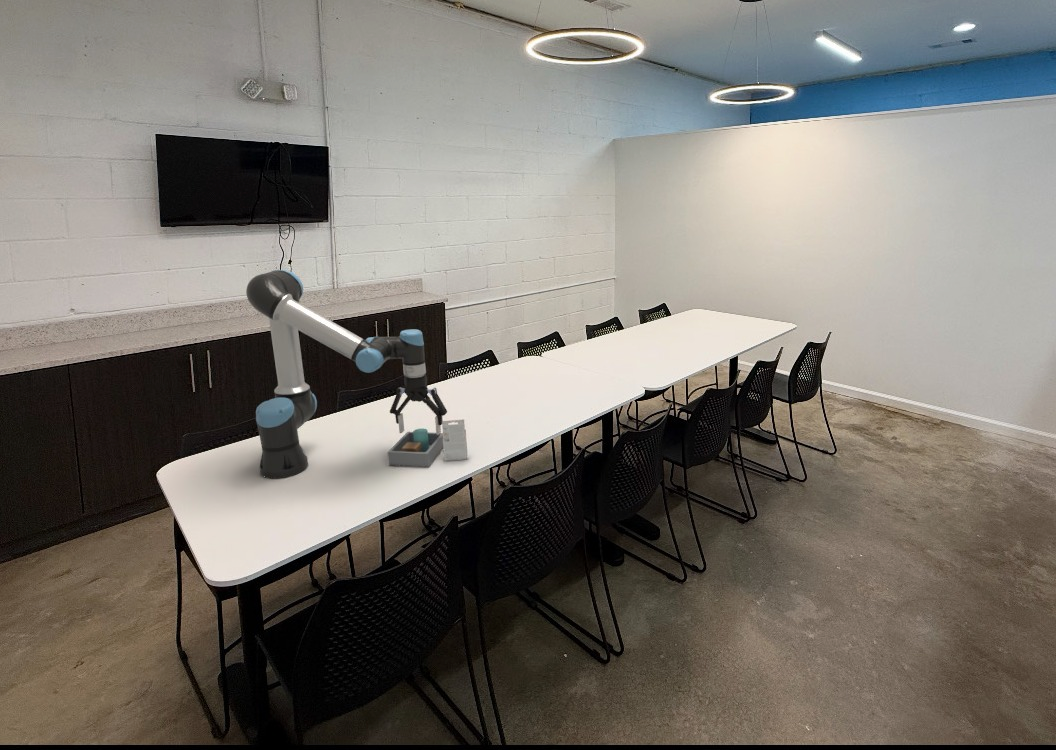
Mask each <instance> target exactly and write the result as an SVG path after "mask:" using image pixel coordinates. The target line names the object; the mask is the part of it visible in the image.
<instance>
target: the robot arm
mask: <svg viewBox="0 0 1056 750" xmlns="http://www.w3.org/2000/svg"><path fill="white" fill-rule="evenodd" d="M303 286H304V285H303V283H302V281H301V279H300V278H299V276H297V275H296V274H295V273H294V272H292V271H290V270H287V269H277V270H276V269H275V270H271V271H270V272H265V273H260V274H258V275H255V276H254V277H252V278H251V279H250V280H249V282H248V284H247V287H246V290H245V291H246V293H245V294H246V297H247V300H248V302H249V304H250V306H251V307H253V309H255V310H256V311H257V312H259V313H260V314H261V315H264V316H266V317H267V318H268V320H269V322H268V323H269V328H270V334H271V342H272V343H271V344H272V348H273V357H274V362H275V371H276V377H277V378H276V379H277V386H276V387H275V388H274V390H273V391H274V392H273V393H274V398H271V399H269V400H265V401H263V402H261V403H260V404H259V405H258V406H257V407H256V410H255V422H256V425H257V429H258V435H259V439H260V445H261V456H260V463H259V472H260V473H261V474H260V476H262V477H263V476H265V477H264V478H266V477H268V478H267V479H281V478H282V479H284V478H288V477H293V476H295V475H297V474H300V473H302V472H303V471H305V470H306V469H307V468H308V467H309V461H308V456H307V455H306V453H305V451H304V449H303V448H302V446H301V444H300V438H299V432H298V429H299V428H302V427H301V426H303V425H305V423H306V422H308V421H310V419H312V417H313V416H314V414H315V413H316V411H317V407H318V400H317V397H316V395H315V394H314V393H312V391H311V386H310V385H309V384H308V383H306V382H305V376H304V373H305V372H304V367H303V359H302V351H301V344H300V335H299V332H301V333H302V334H304V335H306V336H308V337H310V338H312V339H314V340H315V341H318V342H319V343H320V344H323V345H325V346H326V347H328V348H330V349H332V350H334V351H335V352H337V353H339V354H341V355H343V356H344V357H346V358H348V359H350V360H351V361H353V362H355V365H356V367H357V368H358V369H359V370H360V371H361V372H363V373H368V374H369V373H373V372H375V371H377V370H379V369H380V368H381V367H382V366H383V365H384V363H386V362H387V361H388V360H397V359H398V360H400V359H401V360H402V367H403V368H402V370H403V375H404V377H403V379H404V380H403V382H404V387H402V386H400V387H398V388H397V389H396V391H395V392H396V395H395V397H394V399H393V402H392V404H391V406H390V410H389V414H393V415H395V416H394V417H395V423H396V424H398V433H399V434H402V433H403V432H404V431H405V422H404V414H403V412H402V411H403V410H404V408H405V407H406V406H407V405H408V403H409V402H410V401H411V402H419V403H420V402H423V403H424V404H425V405H426V406H427V407H428V408H429V409H430V410H431V411H432V412H433V413H434V414H435V415H436V416H435V417H434V423H435V433H436V435H439V434H440V433H442V429H441V426H442V421H444V420H443V416H445V415H446V414H447V413H448V410H447V408H446V406H445V404H444V402H443V401H442V400H441V398H440V395H439V394H438V389H437V387H433V388H428V382H427V381H428V380H427V374H426V373H427V368H426V358H425V355H426V354H425V342H424V336H423V332H422V331H421V330H419V329H414V328H413V329H411V328H410V329H404V330H401V331H400V333H399V336H373V337H367V338H366V339H364V338H362V337H360V336H358V335H357V334H355V333H354V332H351V331H350V330H348V329H346V328H345V327H342V326H341V325H339V324H337V323H335V322H334V321H332V320H330V319H329V318H327V317H325V316H323V315H321V314H320V313H318V312H317V311H314V310H312V309H311V308H310V307H308V306H305V304H304V305H303V304H302V303H300V299H301V297H302V296H303V294H304V287H303ZM403 394H405V395H406V398H405V399H404V401H402V403H401V404H400V406H399V407H398V405H399V403H400V401H401V398H402V395H403ZM428 394H429V395H430V396H431V397H432V399H431V397H430V396H429V395H428ZM432 400H433V401H432Z"/></svg>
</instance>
